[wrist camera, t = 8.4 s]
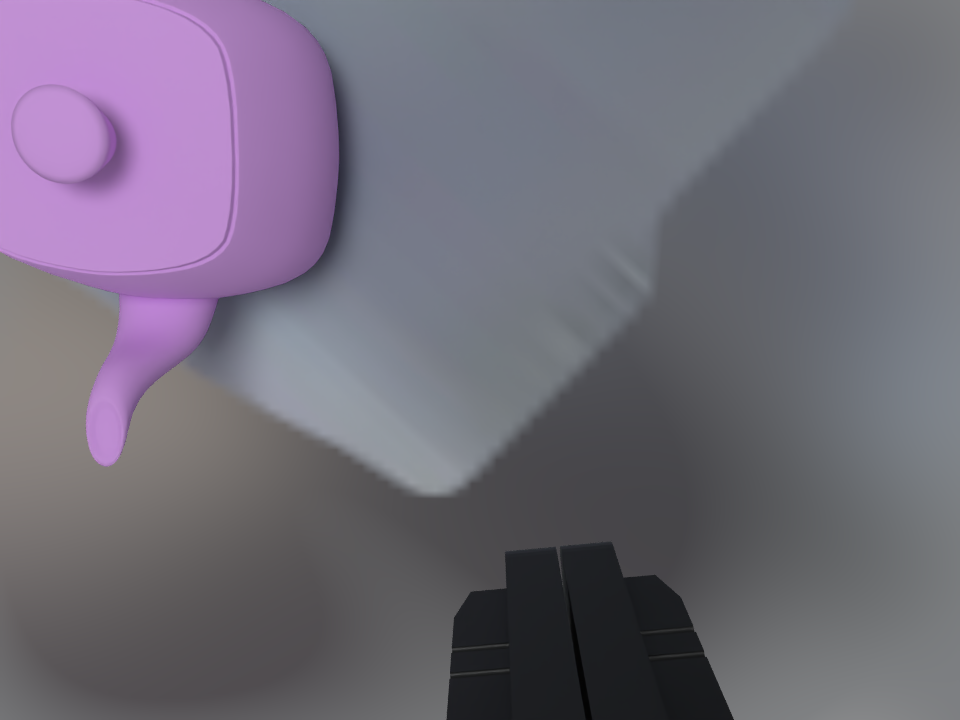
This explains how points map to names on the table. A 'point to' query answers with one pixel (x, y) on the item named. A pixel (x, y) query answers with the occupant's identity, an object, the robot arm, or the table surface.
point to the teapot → (162, 167)
